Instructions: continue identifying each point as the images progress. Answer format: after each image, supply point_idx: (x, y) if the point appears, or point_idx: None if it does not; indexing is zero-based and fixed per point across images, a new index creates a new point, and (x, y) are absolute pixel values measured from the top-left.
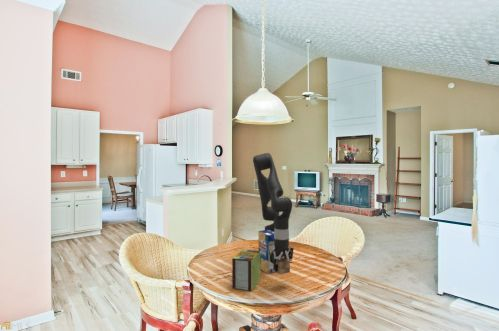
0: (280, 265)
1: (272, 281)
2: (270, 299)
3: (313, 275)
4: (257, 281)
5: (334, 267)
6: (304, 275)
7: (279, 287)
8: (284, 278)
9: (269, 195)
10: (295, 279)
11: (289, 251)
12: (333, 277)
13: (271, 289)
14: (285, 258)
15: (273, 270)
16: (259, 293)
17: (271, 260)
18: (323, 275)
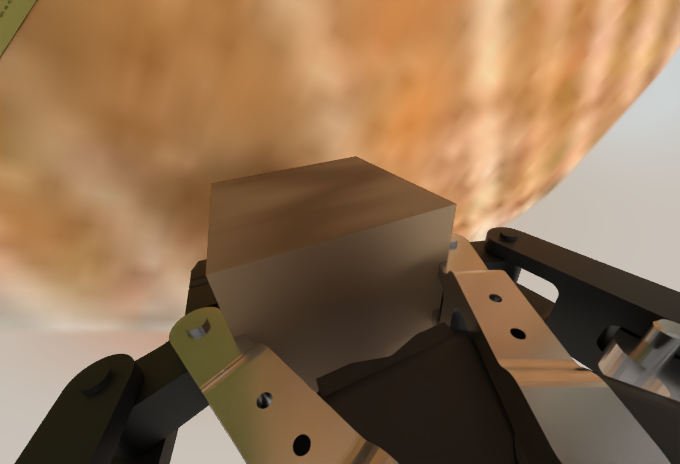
0: None
1: (237, 61)
2: (126, 321)
3: (516, 108)
4: (22, 3)
5: (641, 65)
6: (487, 82)
7: None
8: (359, 56)
9: None
10: (410, 113)
11: (605, 372)
12: (546, 170)
13: (177, 200)
14: (435, 287)
15: (213, 187)
16: (36, 239)
17: (91, 428)
18: (542, 132)
